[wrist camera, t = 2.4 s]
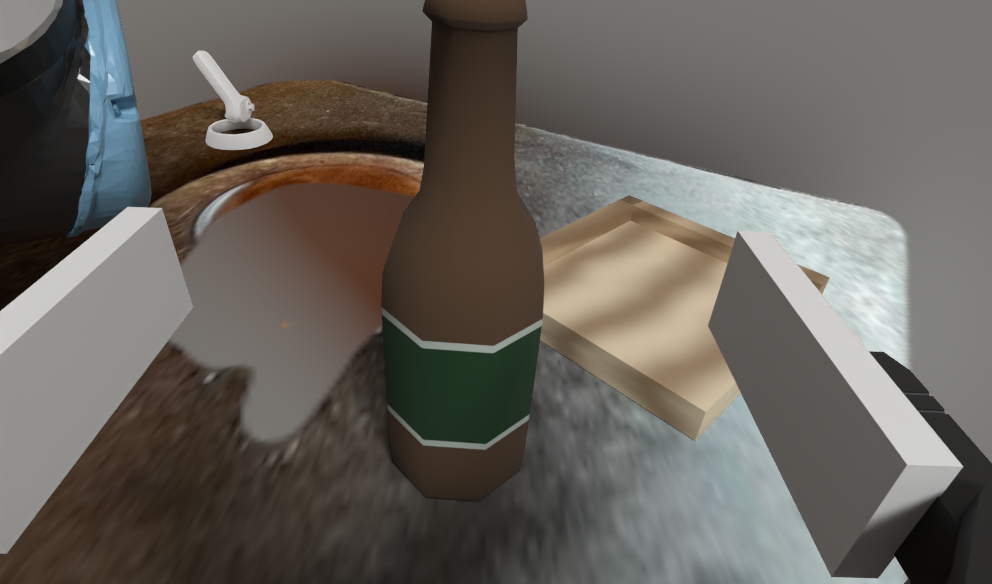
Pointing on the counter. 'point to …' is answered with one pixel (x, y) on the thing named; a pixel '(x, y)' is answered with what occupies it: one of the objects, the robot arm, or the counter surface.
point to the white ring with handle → (231, 111)
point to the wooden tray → (643, 308)
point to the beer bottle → (464, 270)
